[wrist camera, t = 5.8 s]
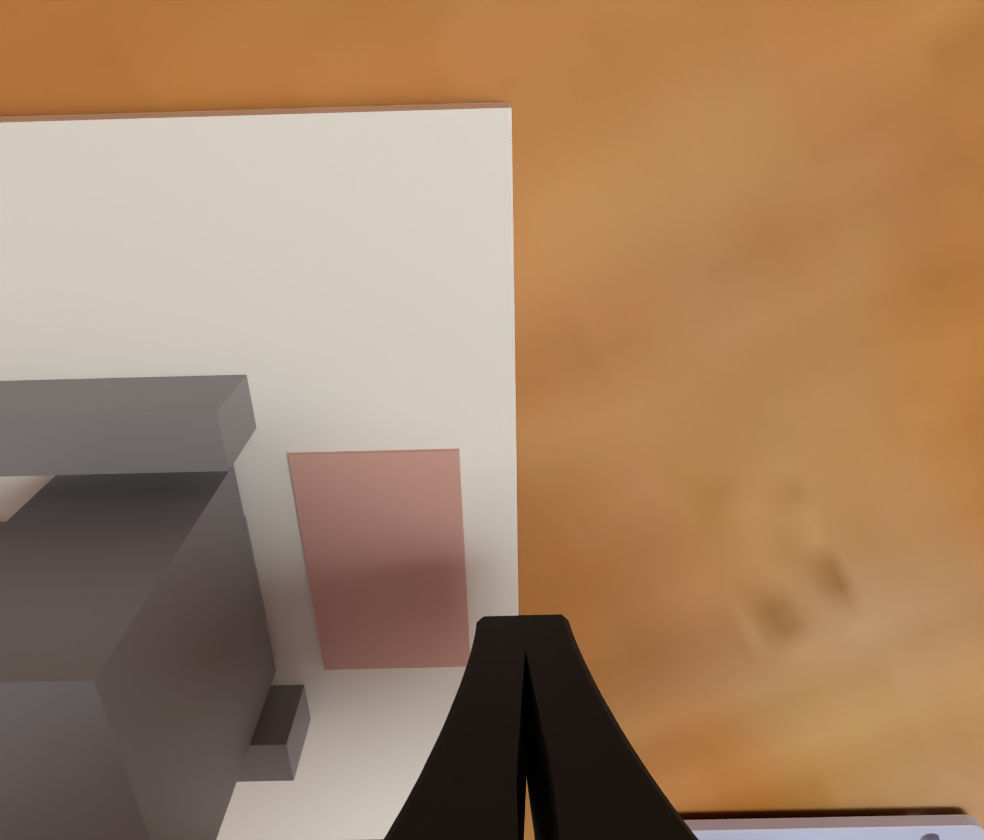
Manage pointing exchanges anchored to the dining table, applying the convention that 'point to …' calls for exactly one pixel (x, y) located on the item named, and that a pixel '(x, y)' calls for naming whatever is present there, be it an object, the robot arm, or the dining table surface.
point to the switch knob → (128, 657)
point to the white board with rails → (288, 395)
